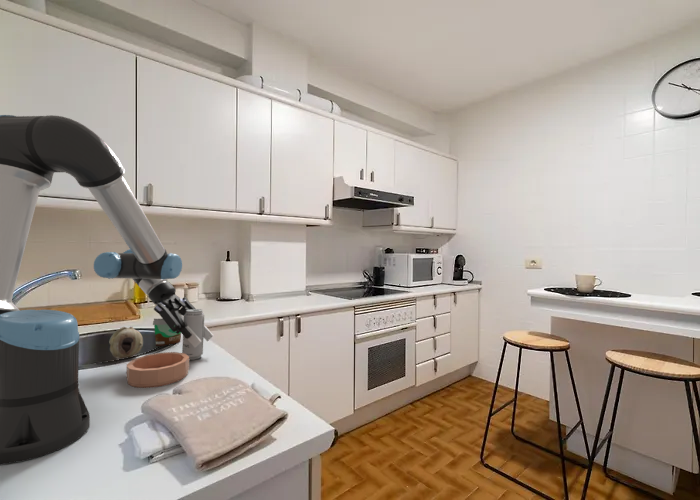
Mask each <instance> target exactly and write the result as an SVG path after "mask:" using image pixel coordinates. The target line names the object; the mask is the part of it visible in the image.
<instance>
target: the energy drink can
mask: <svg viewBox="0 0 700 500" xmlns="http://www.w3.org/2000/svg"><path fill="white" fill-rule="evenodd" d="M183 322H184V324H185V325H186V326H189V327H190V328H191V329H192V330H193V332H194V333H195V334H196V335H197V336H198V337H199V338H200V340H201V341H202V342H201V343H200V344H199V345H198V346H197V347H194V346H193V345H192V344H191V343H190V342H189V341H188V339H187V338H185V336H184V335H183V334H182V348H181V353H185V354H186V355H188V356H189V361H190V360H192V361H193V360H198V359H200V358H202V355H203V354H204V339H205V338H204V325H205V314H204V310H203V309H201V308H200V309H199V308H196V309H190V310H186V313H185V315H184V320H183ZM185 328H186V327H185Z"/></svg>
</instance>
